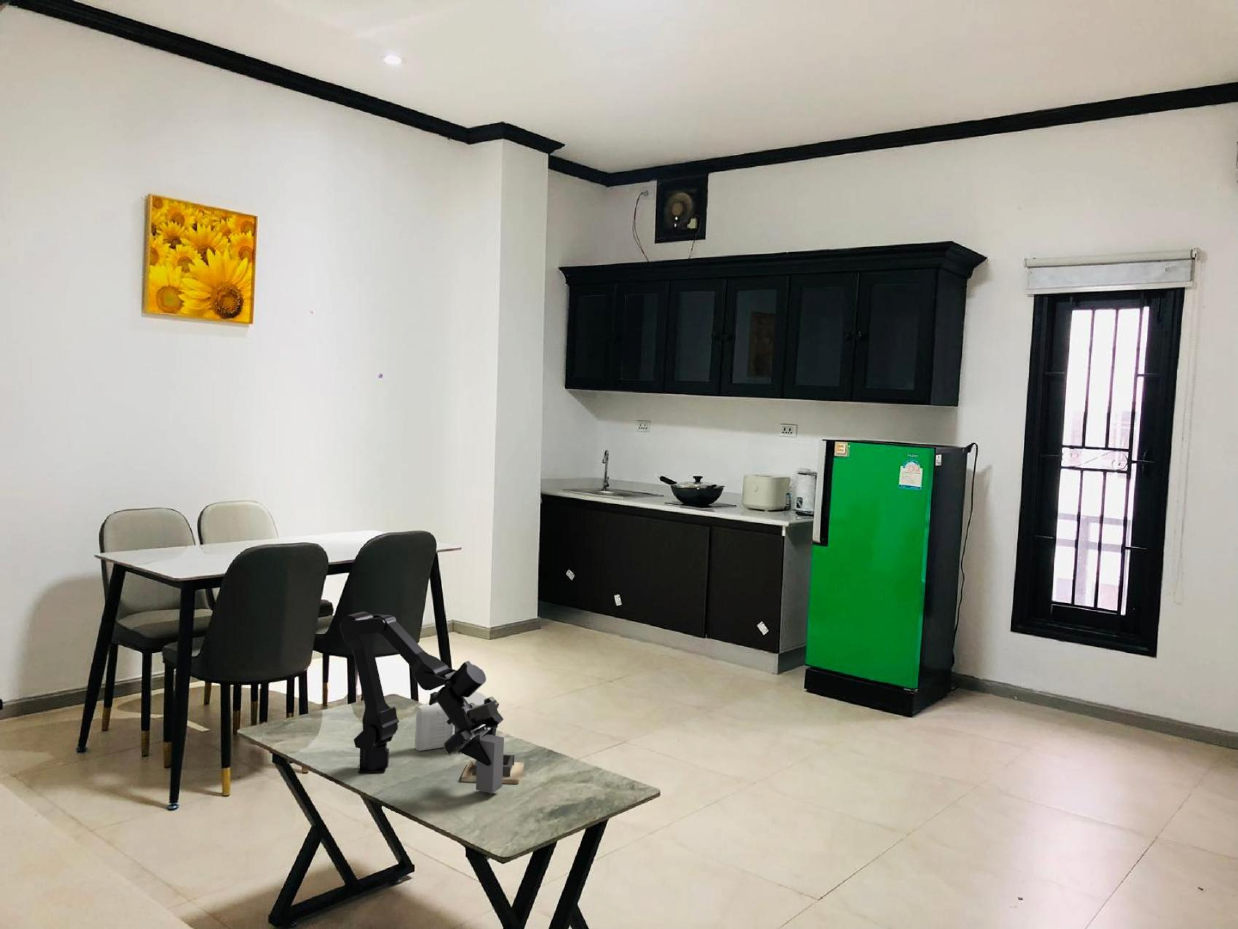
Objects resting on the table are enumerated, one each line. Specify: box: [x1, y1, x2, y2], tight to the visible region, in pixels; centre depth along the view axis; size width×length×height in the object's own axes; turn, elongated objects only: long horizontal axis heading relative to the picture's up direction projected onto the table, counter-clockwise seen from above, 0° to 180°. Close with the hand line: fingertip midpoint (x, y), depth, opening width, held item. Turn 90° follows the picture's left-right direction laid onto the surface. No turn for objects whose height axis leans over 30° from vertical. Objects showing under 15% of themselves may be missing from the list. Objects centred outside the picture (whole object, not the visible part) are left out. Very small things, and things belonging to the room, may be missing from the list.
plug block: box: [475, 734, 505, 794], centre depth 230 cm, size 4×4×12 cm
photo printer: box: [414, 702, 454, 752], centre depth 261 cm, size 10×4×12 cm, turn 123°
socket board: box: [461, 753, 525, 785], centre depth 243 cm, size 14×12×4 cm
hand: (495, 761), depth 229 cm, fingers closed on plug block, 4 cm apart
